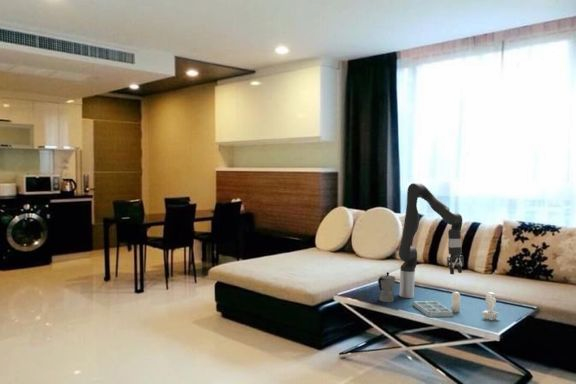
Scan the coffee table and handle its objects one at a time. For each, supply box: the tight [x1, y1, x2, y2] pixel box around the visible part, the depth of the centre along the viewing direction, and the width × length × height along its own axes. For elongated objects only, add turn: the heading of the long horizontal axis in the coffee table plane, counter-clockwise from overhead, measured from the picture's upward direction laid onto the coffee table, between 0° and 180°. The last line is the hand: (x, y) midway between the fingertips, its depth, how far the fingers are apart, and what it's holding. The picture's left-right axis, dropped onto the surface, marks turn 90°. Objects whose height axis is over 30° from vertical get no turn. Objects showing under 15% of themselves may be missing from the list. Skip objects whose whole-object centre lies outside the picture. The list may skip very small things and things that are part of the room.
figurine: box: [480, 291, 500, 321], centre depth 260 cm, size 7×9×15 cm
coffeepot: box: [377, 271, 396, 303], centre depth 291 cm, size 15×9×18 cm, turn 129°
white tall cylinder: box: [450, 291, 461, 313], centre depth 273 cm, size 5×5×12 cm
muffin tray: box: [412, 300, 454, 318], centre depth 273 cm, size 22×15×3 cm
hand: (456, 273), depth 274 cm, fingers open, 8 cm apart
